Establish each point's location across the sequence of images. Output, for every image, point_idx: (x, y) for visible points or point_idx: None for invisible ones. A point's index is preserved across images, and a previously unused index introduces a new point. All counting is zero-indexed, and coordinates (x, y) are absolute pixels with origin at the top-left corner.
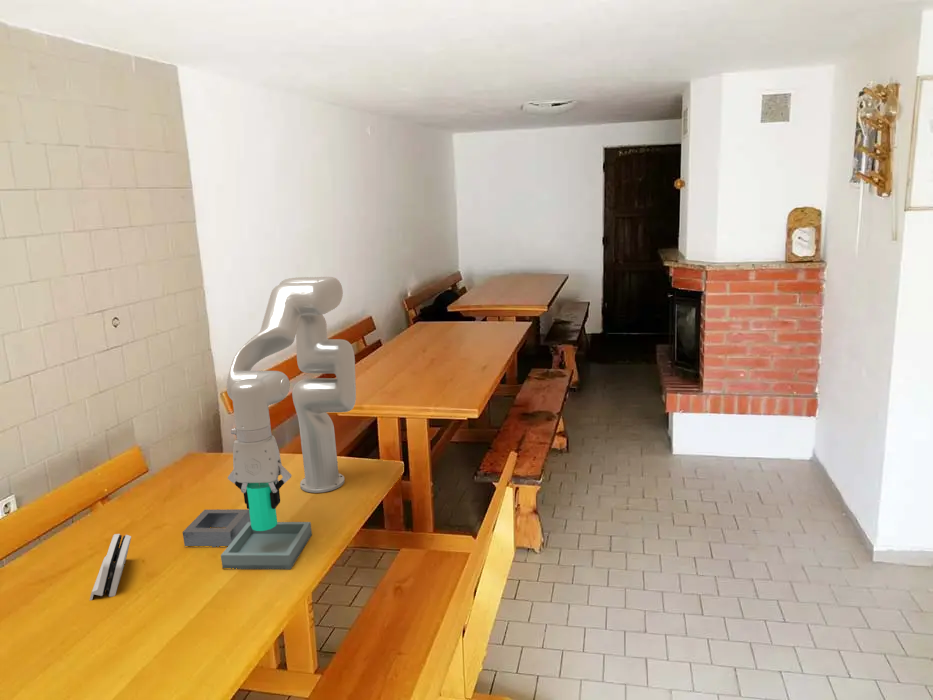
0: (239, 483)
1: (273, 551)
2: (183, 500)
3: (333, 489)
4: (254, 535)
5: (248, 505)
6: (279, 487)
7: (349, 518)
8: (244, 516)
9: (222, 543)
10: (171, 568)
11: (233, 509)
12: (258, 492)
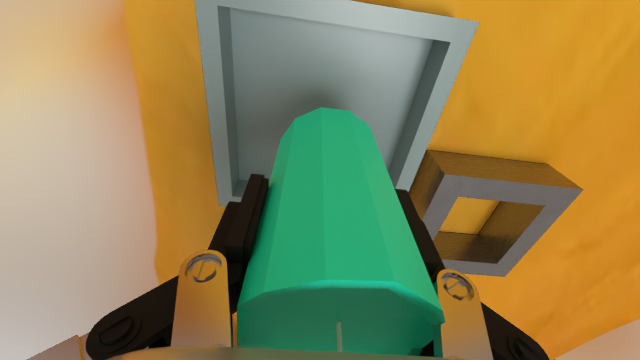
0: (509, 354)
1: (300, 92)
2: (519, 313)
3: None
4: None
5: (400, 199)
6: (157, 292)
7: (170, 236)
8: None
9: (455, 157)
10: (612, 49)
11: None
12: (324, 245)
